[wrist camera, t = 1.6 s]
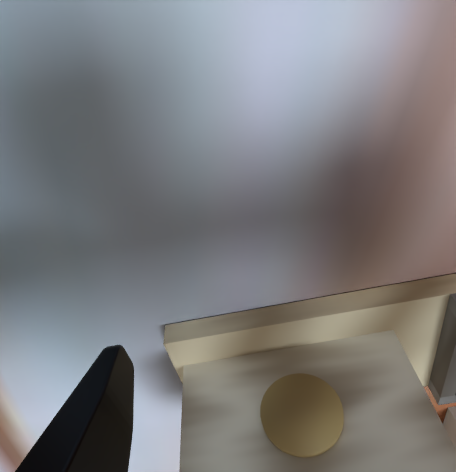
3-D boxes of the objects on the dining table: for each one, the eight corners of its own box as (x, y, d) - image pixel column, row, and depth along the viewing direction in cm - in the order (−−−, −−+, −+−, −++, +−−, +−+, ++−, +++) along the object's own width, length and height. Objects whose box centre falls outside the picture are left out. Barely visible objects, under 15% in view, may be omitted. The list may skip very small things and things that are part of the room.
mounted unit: (625, 243, 18) (868, 405, 12) (567, 344, 23) (716, 499, 16) (165, 325, 20) (148, 510, 13) (200, 403, 24) (201, 568, 18)
